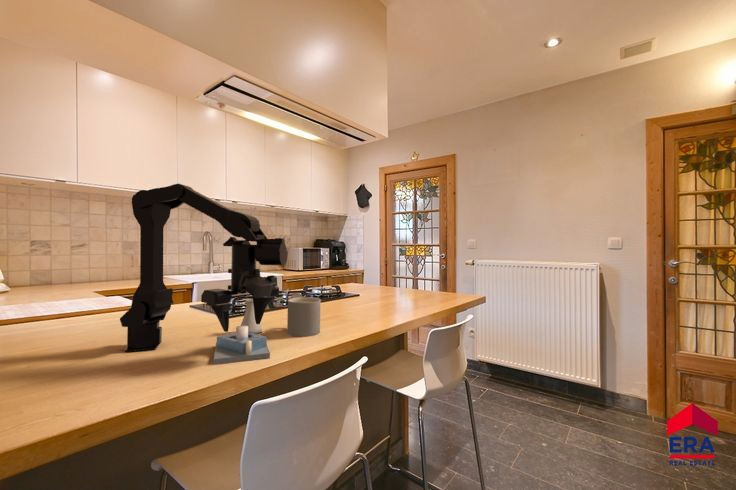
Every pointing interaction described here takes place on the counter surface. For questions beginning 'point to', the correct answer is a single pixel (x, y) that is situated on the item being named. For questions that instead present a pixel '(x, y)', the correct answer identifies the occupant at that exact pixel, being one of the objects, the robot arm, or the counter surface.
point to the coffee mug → (303, 317)
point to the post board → (228, 356)
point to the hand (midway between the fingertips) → (242, 327)
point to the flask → (250, 318)
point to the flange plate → (241, 342)
